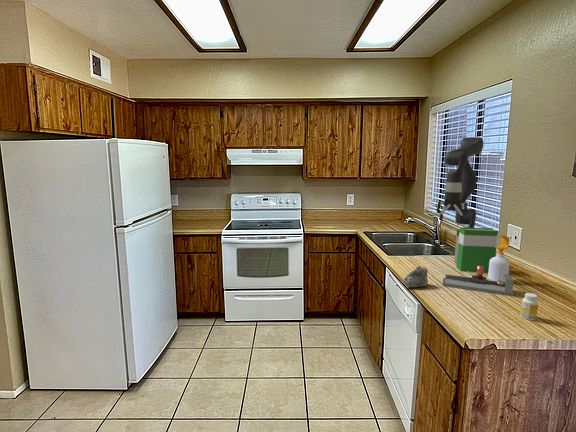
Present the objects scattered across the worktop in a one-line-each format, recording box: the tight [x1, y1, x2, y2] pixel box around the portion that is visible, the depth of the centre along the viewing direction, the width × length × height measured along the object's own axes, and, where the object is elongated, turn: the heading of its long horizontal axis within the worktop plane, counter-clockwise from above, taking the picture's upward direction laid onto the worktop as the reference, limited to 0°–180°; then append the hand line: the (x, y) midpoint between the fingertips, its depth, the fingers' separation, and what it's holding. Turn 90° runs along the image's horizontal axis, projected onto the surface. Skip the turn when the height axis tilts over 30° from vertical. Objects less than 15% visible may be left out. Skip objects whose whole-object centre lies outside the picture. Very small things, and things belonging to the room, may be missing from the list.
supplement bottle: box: [519, 292, 539, 321], centre depth 139 cm, size 5×5×10 cm
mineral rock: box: [403, 266, 429, 288], centre depth 173 cm, size 13×11×10 cm
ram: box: [471, 265, 488, 284], centre depth 170 cm, size 6×6×10 cm
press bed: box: [442, 274, 514, 297], centre depth 171 cm, size 9×30×8 cm, turn 65°
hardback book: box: [455, 226, 499, 273], centre depth 198 cm, size 18×7×24 cm, turn 82°
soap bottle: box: [487, 233, 511, 282], centre depth 181 cm, size 9×9×25 cm
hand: (450, 221), depth 181 cm, fingers open, 8 cm apart
